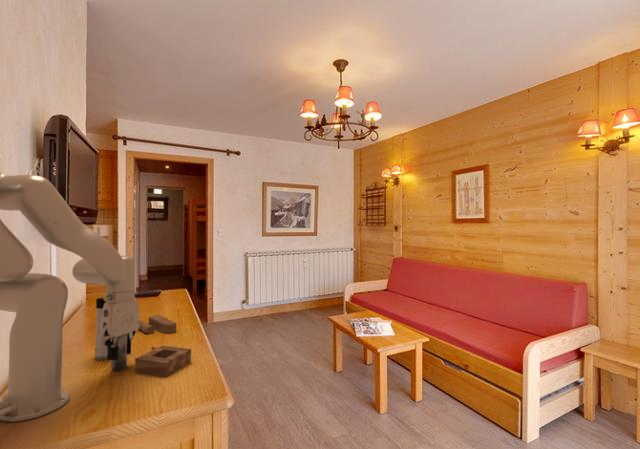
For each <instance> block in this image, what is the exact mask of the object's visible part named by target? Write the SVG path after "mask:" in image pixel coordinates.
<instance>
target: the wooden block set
mask: <svg viewBox="0 0 640 449" xmlns="http://www.w3.org/2000/svg"><path fill="white" fill-rule="evenodd" d="M139 325H140V328H139V329H138V330H139V331H142V332H144V333H145V334H148V335H151V334H153V333H154V331H159V332H160V333H163V334H174V333H177V323H176V321H173V320H171V319H169V318H168V317H165V316H163V315H160V314H155V315H151V316H149V317H148V323H147V322H145V321H143V320H139Z"/></svg>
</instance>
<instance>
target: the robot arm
mask: <svg viewBox="0 0 640 449" xmlns="http://www.w3.org/2000/svg"><path fill="white" fill-rule="evenodd" d="M0 210H2V211H3V210H4V211H19V212H20V213H21V214H22V215H23V216H24V217H25V218H26V219H27V220H28V222H29V223H30V224H31V225H32V226H33V227H34V228H35V230H36V231H37V232H38V233H39V234H40V235H41V237H42V238H43V239H44V240H45V241H46V242H48V243H50V244H52V245H53V246H55V247H57V248H60V249H62V250H66V251H67V252H68V251H69V252H71V253H73V254H75V255H76V256H79V257H80V258H82V259H80V260H78V261H76V263H75V264H74V265H73V268H72V271H71V272H72V276H73V277H74V279H76V281H77V282H79V283H82V284H87V285H88V284H89V285H103V286H105V296H103V297H102V298H103V299H104V300H105V301H106V303H104V306H103V311H102V317H101V333H100V335H99V337H98V339H97V341H98V342H100V343H103V344H104V345H105V346H106V347H108V356H107V359H106V360H109V361H112V360H114V361H115V360H117V359H118V347H117V346H116V343H117V338H118V337H120V336H122V335H125V334H127V356H128V355H131V353H132V341H133V340H134V336H135V335H136V332H137V331H138V330H139V328H140V325H139V321H140V311H139V310H140V309H139V303H138V299H137V298H136V295H135V294H136V259H135V258H134V256H131V255H121V254H120V252H119V251H118V250H117V249H116V248H115V247H114V245H113V244H112V243H111V242H110V241H109V240H107V239H106V238H105V237H103V236H102V235H101V234H99V233H97V232H96V231H95V230H94V229H92V228H90V227H89V226H87V225H86V224H85V223H83V222H82V221H81V219H80V218H79V217H78V216H77V214H76V213H75V212H74V210H72V208H71V207H70V205H69V204H68V203H67V201H66V200H65V199H64V197H63V196H62V195H61V194H60V192H59V191H58V190H57V188H56V187H55V186H54V184H52V182H50V180H48V179H47V178H45V177H43V176H41V175H36V174H18V175H16V174H15V175H9V174H8V175H7V174H3V173H1V172H0ZM33 266H34V258H33V255H32V253H31V252H30V250H29V249H28V248H27V246H25V245H24V244H23V243H22V241H20V240H19V239H18V237H17V236H16V235H15V234H14V233H13V232H12V231H11V230H10V228H8V227H7V225H6V224H5V223H4V222H3V221H2V219H1V218H0V311H5V312H10V313H15V314H16V315H15V317H14V321H13V323H12V324H11V327H10V331H9V339H8V347H9V348H8V353H9V354H8V384H7V386H8V387H7V388H8V389H7V392H8V393H7V394H5V395H2V397H1V401H0V420H1V421H2V422H7V421H9V422H11V423H13V422H21V421H27V420H33V419H35V418H36V419H37V418H39V417H42V416H45V415H47V414H50V413H52V412H54V411H57V410H58V409H59V408H61V407H63V406H64V405H65V404H66V403H67V402H68V401H69V399H70V393H69V391H68V390H66V389H62V383H63V382H62V381H63V380H62V378H63V377H62V376H63V375H62V373H63V372H62V371H63V370H62V368H63V329H64V328H63V325H64V324H63V323H64V316H65V310H66V307H67V303H68V297H69V289H68V286H67V284H66V283H65V281H63V279H61V278H60V277H58V276H55V275H52V274H49V273H48V274H47V273H37V272H30V271H32V270H33V269H32V268H33ZM106 336H107V339H106ZM111 338H113V339H112V341H111ZM3 420H4V421H3Z"/></svg>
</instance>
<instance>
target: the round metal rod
mask: <svg viewBox="0 0 640 449" xmlns="http://www.w3.org/2000/svg"><path fill="white" fill-rule="evenodd" d="M112 339H113V338H112ZM116 346H117V347H118V359H117V360H115V361H114V360H111V368H110V369H111V372H122V371H124V370H127V368H128V354H127V334H125V335H122V336H120V337H118V338H117V343H116Z"/></svg>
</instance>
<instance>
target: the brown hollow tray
mask: <svg viewBox="0 0 640 449" xmlns="http://www.w3.org/2000/svg"><path fill="white" fill-rule="evenodd" d="M190 361H191V362H192V349H191V348H186V347H179V346H178V347H177V346H168V345H161V346H158V348H157V349H152V350H151V351H148V352H146V353H144V354H141V355H140V356H138V357H136V358H135V361H134V364H135V365H134V368H135V369H134V370H135V371H134V373H138V374H140V373H141V374H144V375H145V374H146V375H152V376H159V377H163V378H164V377H165V378H167V377H168V376H170V375H171V374H173V373H175V372H177V371H178V370H180V369H182V368H183V367H184V365H185V366H186V365H189V364H190V363H191V362H190ZM189 362H190V363H189Z"/></svg>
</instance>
